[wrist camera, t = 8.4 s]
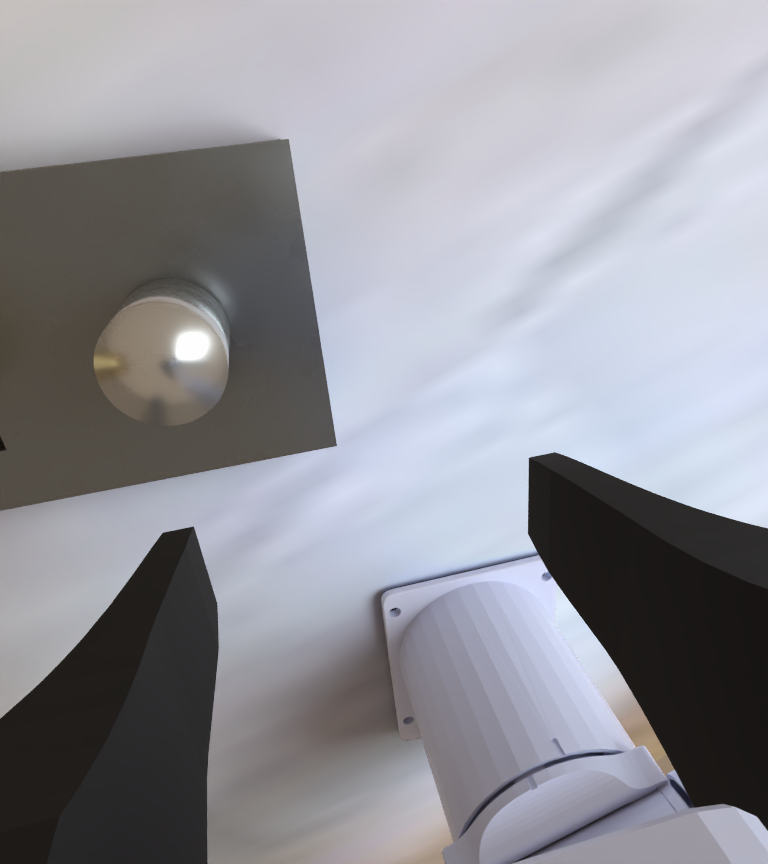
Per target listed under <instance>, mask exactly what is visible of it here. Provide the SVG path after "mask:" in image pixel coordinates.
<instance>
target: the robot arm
mask: <svg viewBox="0 0 768 864" xmlns="http://www.w3.org/2000/svg"><path fill="white" fill-rule="evenodd" d="M528 534H529V536H530V538H531V540H532V542H533V544H534V546H535V548H536V550H537V552H538V554H539V555H538V556H533V557H529V558H525V559H520V560H516V561H512V562H507V563H503V564H499V565H494V566H490V567H486V568H481V569H477V570H473V571H469V572H464V573H460V574H456V575H451V576H447V577H443V578H438V579H434V580H430V581H425V582H421V583H417V584H412V585H408V586H404V587H399V588H395V589H391V590H388V591H386V592H385V593H384V594H383V595H382V597H381V606H382V613H383V620H384V627H385V635H386V642H387V649H388V657H389V664H390V671H391V679H392V686H393V693H394V700H395V708H396V715H397V722H398V730H399V734H400V737H401V738H402V739H403V740H407V741H408V740H413V739H417V738H420V737H421V738H422V741H423V744H424V747H425V751H426V754H427V757H428V761H429V764H430V767H431V770H432V774H433V777H434V780H435V783H436V787H437V790H438V793H439V797H440V800H441V803H442V806H443V810H444V813H445V816H446V819H447V823H448V826H449V829H450V833H451V836H452V839H453V842H454V843H452V844H451V845H449V846H447V847H446V848H444V849H443V851H442V854H443V858H444V861H445V864H768V528H763V527H759V526H755V525H751V524H747V523H743V522H740V521H736V520H733V519H729V518H726V517H722V516H719V515H715V514H712V513H709V512H705V511H702V510H699V509H696V508H693V507H690V506H687V505H684V504H682V503H679V502H676V501H673V500H671V499H668V498H665V497H662V496H660V495H657V494H655V493H652V492H650V491H647V490H645V489H642V488H640V487H637V486H635V485H632V484H630V483H628V482H625V481H623V480H621V479H618V478H616V477H614V476H611V475H609V474H607V473H604V472H602V471H600V470H597V469H595V468H593V467H591V466H588V465H586V464H584V463H581V462H579V461H577V460H574V459H572V458H569V457H567V456H564V455H561V454H558V453H550V454H545V455H540V456H535V457H531V458H529V502H528ZM546 572H547V573H546ZM544 573H546V574H545V575H543V574H544ZM542 575H543V576H542ZM556 583H557V584H558V586H559V587H560V589H561V590H562V591H563V593H564V594H565V595H566V597H567V598H568V600H569V601H570V602H571V604H572V605H573V606H574V608H575V609H576V610H577V612H578V613H579V615H580V616H581V617H582V619H583V620H584V621H585V623H586V624H587V625H588V627H589V628H590V629H591V631H592V632H593V634H594V635H595V636H596V638H597V639H598V640H599V642H600V643H601V644H602V646H603V647H604V648H605V650H606V651H607V653H608V654H609V656H610V657H611V659H612V660H613V662H614V663H615V665H616V666H617V668H618V669H619V671H620V673H621V674H622V676H623V678H624V679H625V681H626V683H627V685H628V686H629V688H630V690H631V691H632V693H633V695H634V697H635V698H636V700H637V702H638V703H639V705H640V707H641V708H642V710H643V712H644V714H645V716H646V717H647V719H648V721H649V723H650V725H651V727H652V728H653V730H654V732H655V734H656V736H657V737H658V739H659V741H660V743H661V745H662V746H663V748H664V750H665V752H666V754H667V756H668V757H669V759H670V761H671V763H672V765H673V767H674V769H675V770H673V771H671V772H670V773H668V774H666V775H667V778H668V780H667V778H666V777H665V775H664V774H663V772H662V771H661V769H660V768H659V766H658V765H657V763H656V762H655V760H654V759H653V757H652V756H651V754H650V753H649V751H648V750H647V748H646V747H645V746H639V747H637V748H636V747H635V745H634V744H633V742H632V741H631V739H630V738H629V736H628V734H627V733H626V731H625V730H624V728H623V727H622V725H621V724H620V722H619V721H618V719H617V718H616V716H615V715H614V713H613V712H612V710H611V709H610V707H609V705H608V704H607V702H606V701H605V699H604V698H603V696H602V695H601V693H600V692H599V690H598V689H597V687H596V686H595V684H594V683H593V681H592V680H591V678H590V676H589V675H588V673H587V672H586V670H585V669H584V667H583V666H582V664H581V663H580V661H579V660H578V658H577V657H576V655H575V654H574V652H573V651H572V649H571V647H570V646H569V644H568V643H567V641H566V640H565V638H564V637H563V635H562V634H561V632H560V631H559V629H558V628H557V626H556V625H555V603H556ZM393 608H397V609H396V610H394V611H390V610H391V609H393ZM218 649H219V645H218V613H217V602H216V598H215V595H214V592H213V588H212V585H211V582H210V579H209V575H208V572H207V569H206V565H205V562H204V559H203V556H202V552H201V549H200V546H199V542H198V539H197V536H196V533H195V529H194V527H189V528H185V529H180V530H175V531H170V532H165V533H162V535H161V536H160V537H159V539H158V540H157V542H156V543H155V544H154V546H153V547H152V548H151V550H150V551H149V553H148V554H147V555H146V557H145V558H144V560H143V561H142V563H141V564H140V565H139V567H138V568H137V570H136V571H135V572H134V574H133V575H132V577H131V578H130V579H129V581H128V582H127V583H126V585H125V586H124V587H123V589H122V590H121V591H120V593H119V594H118V595H117V597H116V598H115V600H114V601H113V602H112V604H111V605H110V606H109V607H108V609H107V610H106V611H105V612H104V613H103V615H102V616H101V617H100V618H99V619H98V621H97V622H96V623H95V624H94V625H93V627H92V628H91V629H90V630H89V632H88V633H87V634H86V635H85V636H84V638H83V639H82V640H81V641H80V642H79V643H78V644H77V645H76V647H75V648H74V649H73V650H72V651H71V652H70V653H69V654H68V655H67V656H66V657H65V658H64V659H63V660H62V662H61V663H60V664H59V665H58V666H57V667H56V668H55V669H54V670H53V671H52V672H51V673H50V674H49V675H48V676H47V677H46V678H45V679H44V680H43V681H42V682H41V683H40V684H39V685H38V686H36V687H35V688H34V689H33V690H32V691H31V692H30V693H29V694H28V695H27V696H25V697H24V698H23V699H22V700H21V701H20V702H19V703H18V704H16V705H15V706H14V707H13V708H12V709H11V710H10V711H9V712H8V713H6V714H5V715H4V716H3V717H2V718H1V719H0V864H207V767H208V751H209V741H210V731H211V721H212V712H213V702H214V692H215V682H216V671H217V661H218Z"/></svg>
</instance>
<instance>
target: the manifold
mask: <svg viewBox="0 0 768 864" xmlns="http://www.w3.org/2000/svg"><path fill="white" fill-rule="evenodd" d="M333 446H337V444H336V438H335V431H334V425H333V419H332V412H331V406H330V400H329V393H328V387H327V381H326V374H325V368H324V361H323V355H322V349H321V342H320V336H319V330H318V323H317V317H316V310H315V304H314V298H313V291H312V285H311V279H310V272H309V266H308V260H307V253H306V247H305V240H304V234H303V228H302V221H301V215H300V209H299V202H298V196H297V190H296V183H295V177H294V170H293V164H292V158H291V151H290V145H289V139H284V140H275V141H266V142H257V143H249V144H240V145H231V146H222V147H214V148H205V149H196V150H188V151H179V152H170V153H161V154H153V155H144V156H135V157H127V158H118V159H109V160H100V161H92V162H83V163H74V164H66V165H57V166H48V167H39V168H31V169H22V170H13V171H5V172H0V511H1V510H6V509H11V508H16V507H22V506H27V505H32V504H37V503H42V502H48V501H53V500H58V499H63V498H68V497H74V496H79V495H84V494H89V493H94V492H99V491H105V490H110V489H115V488H120V487H125V486H131V485H136V484H141V483H146V482H151V481H157V480H162V479H167V478H172V477H177V476H183V475H188V474H193V473H198V472H203V471H209V470H214V469H219V468H224V467H229V466H235V465H240V464H245V463H250V462H255V461H261V460H266V459H271V458H276V457H281V456H287V455H292V454H297V453H302V452H307V451H313V450H318V449H323V448H328V447H333Z"/></svg>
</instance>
